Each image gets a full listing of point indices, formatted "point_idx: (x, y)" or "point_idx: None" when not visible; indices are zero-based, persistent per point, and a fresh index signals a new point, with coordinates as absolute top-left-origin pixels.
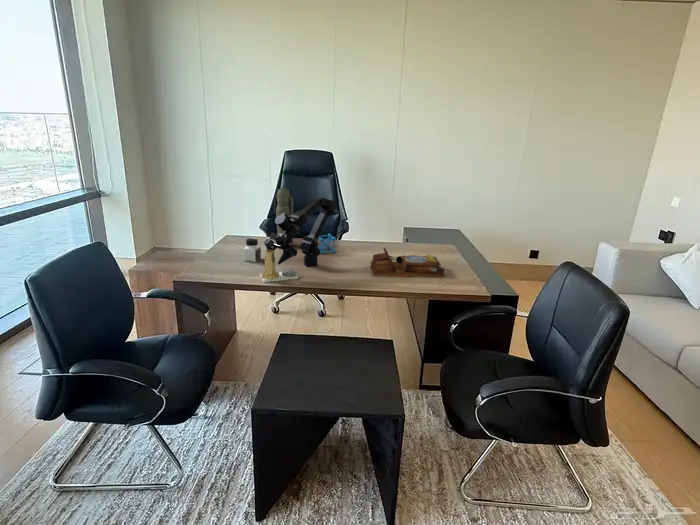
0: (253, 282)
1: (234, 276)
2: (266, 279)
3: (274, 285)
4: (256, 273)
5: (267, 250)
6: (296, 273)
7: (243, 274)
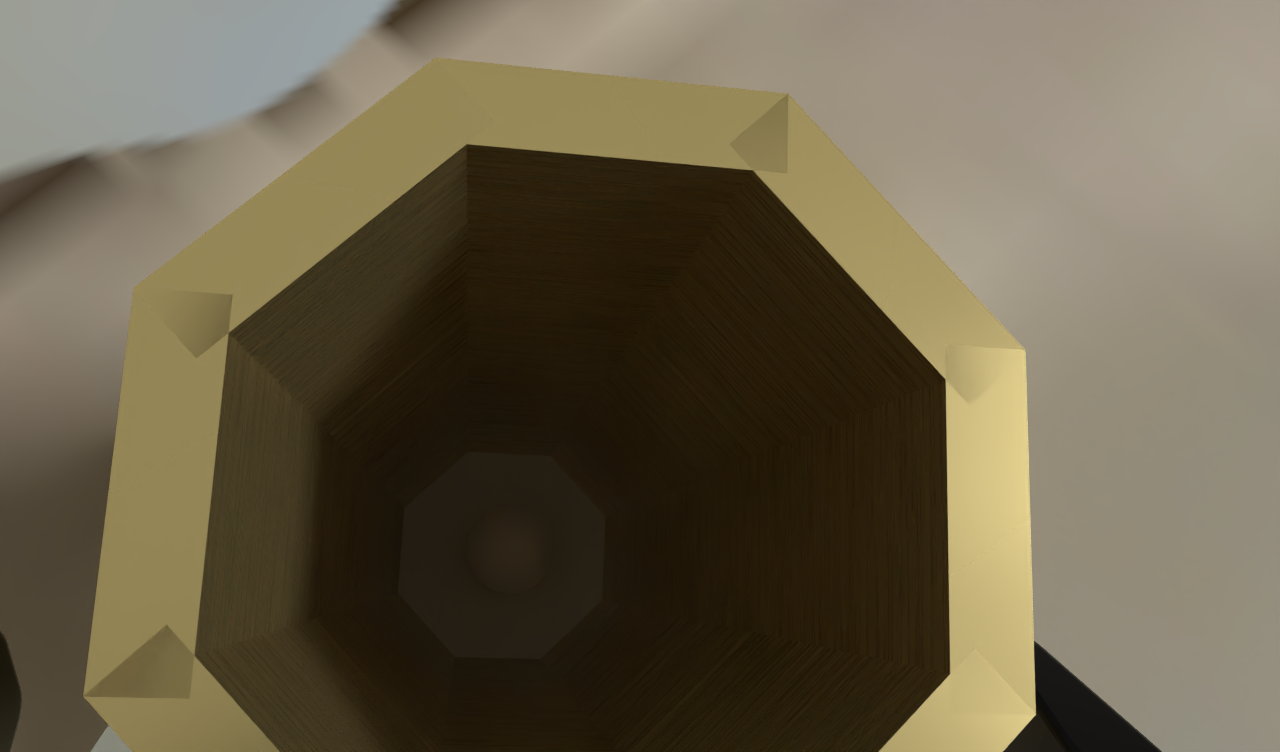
0: None
1: (1260, 90)
2: None
3: (43, 272)
4: (1092, 590)
5: (941, 500)
6: None
7: (1240, 315)
